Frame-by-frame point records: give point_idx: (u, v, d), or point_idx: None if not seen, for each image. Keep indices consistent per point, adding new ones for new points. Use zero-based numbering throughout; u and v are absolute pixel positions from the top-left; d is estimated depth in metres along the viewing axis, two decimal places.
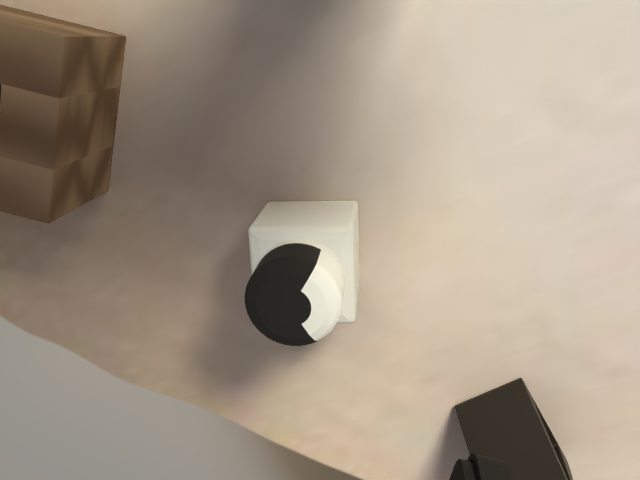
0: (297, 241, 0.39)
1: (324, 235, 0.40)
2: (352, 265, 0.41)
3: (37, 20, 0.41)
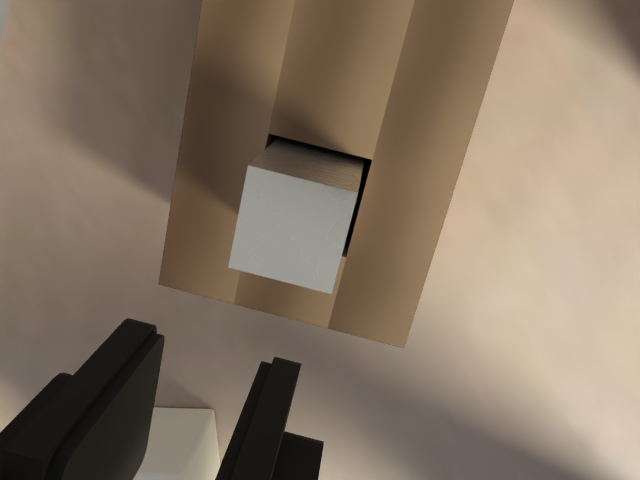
0: None
1: None
2: None
3: None
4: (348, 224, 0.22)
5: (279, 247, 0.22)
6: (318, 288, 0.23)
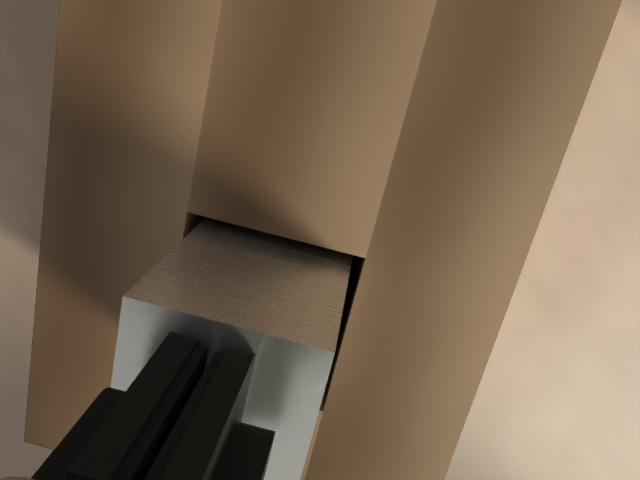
0: None
1: None
2: None
3: None
4: (317, 406, 0.11)
5: None
6: None
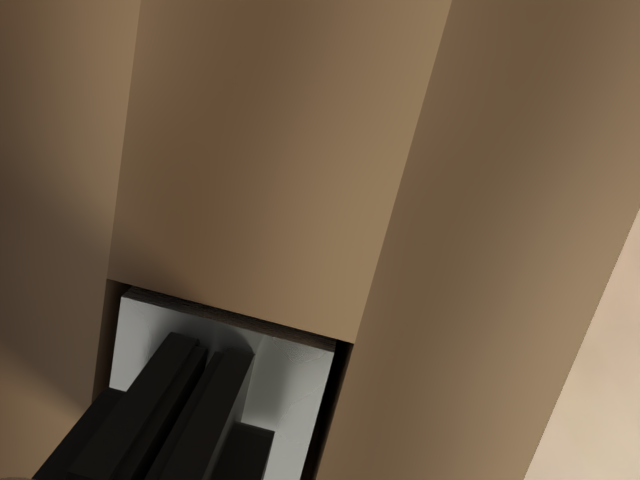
0: None
1: None
2: None
3: None
4: (316, 407, 0.11)
5: None
6: None
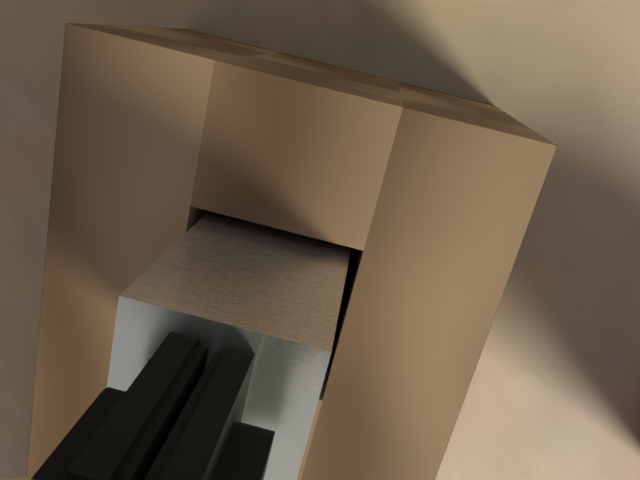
0: None
1: None
2: None
3: None
4: None
5: None
6: None
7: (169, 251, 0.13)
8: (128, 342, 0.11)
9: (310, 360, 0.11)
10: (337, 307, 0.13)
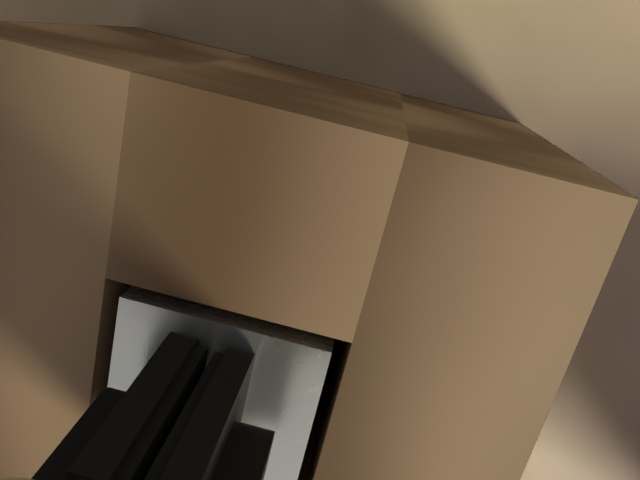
0: None
1: None
2: None
3: None
4: None
5: None
6: None
7: None
8: (129, 343, 0.11)
9: (310, 362, 0.11)
10: None
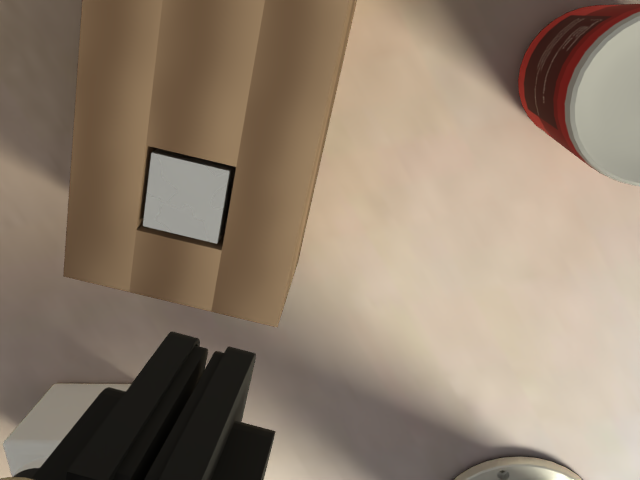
0: None
1: None
2: None
3: (304, 222, 0.36)
4: (224, 193, 0.31)
5: (177, 210, 0.31)
6: (208, 239, 0.32)
7: None
8: None
9: None
10: None
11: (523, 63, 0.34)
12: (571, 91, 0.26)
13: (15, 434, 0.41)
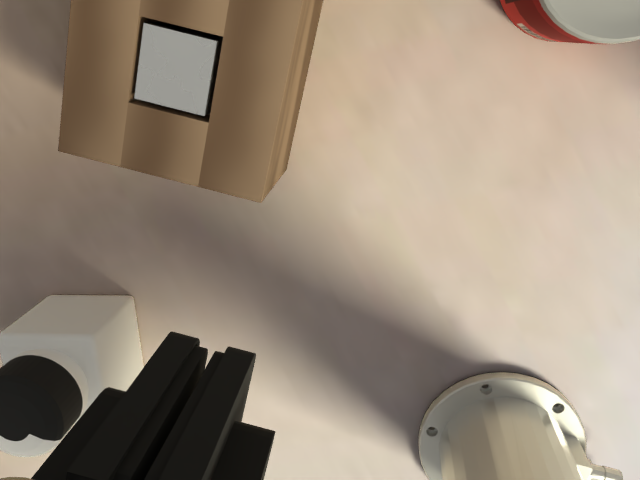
0: (84, 394, 0.41)
1: None
2: None
3: (290, 114, 0.38)
4: (212, 64, 0.32)
5: (167, 82, 0.33)
6: (195, 111, 0.33)
7: None
8: None
9: None
10: None
11: None
12: None
13: (9, 329, 0.42)
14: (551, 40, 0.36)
